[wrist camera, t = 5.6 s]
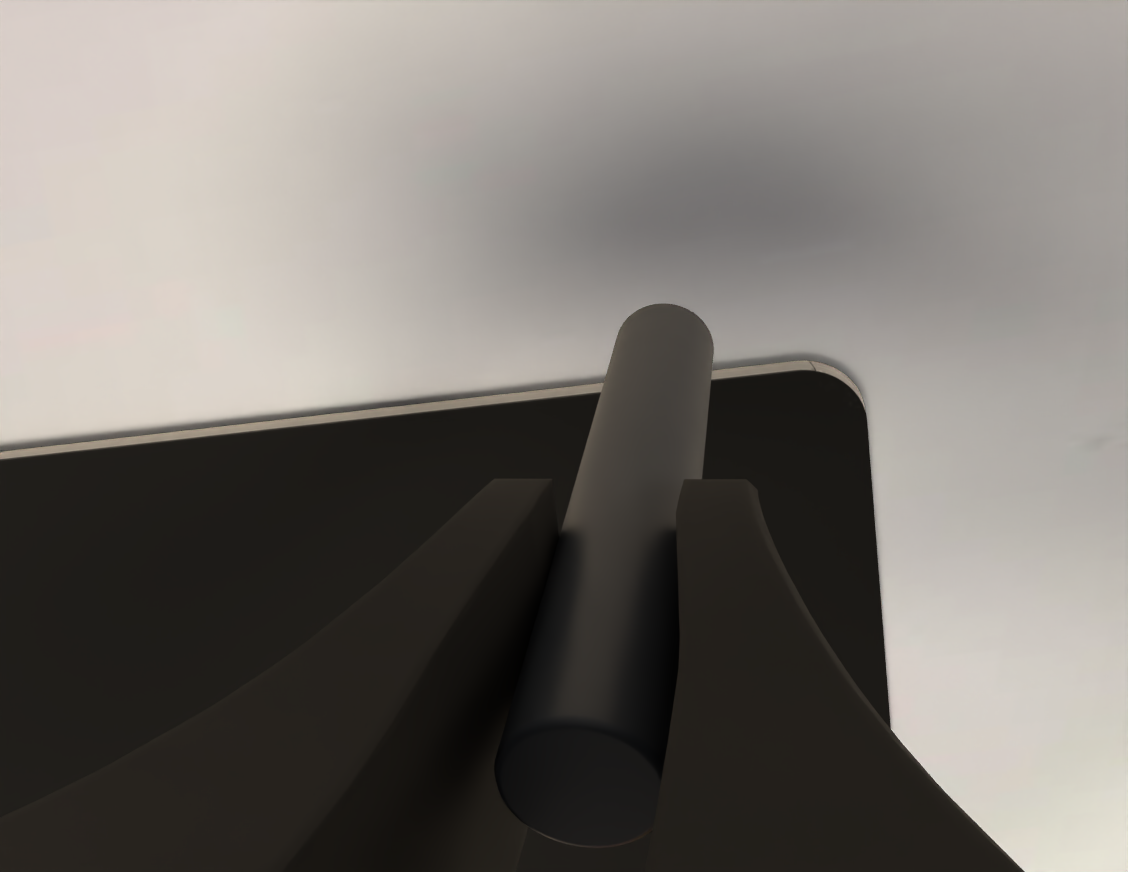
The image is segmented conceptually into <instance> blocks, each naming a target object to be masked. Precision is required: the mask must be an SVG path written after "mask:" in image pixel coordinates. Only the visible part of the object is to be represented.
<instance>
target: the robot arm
mask: <svg viewBox="0 0 1128 872" xmlns="http://www.w3.org/2000/svg"><path fill="white" fill-rule="evenodd" d="M676 536H677V567H678V597H679V627H680V645H679V668H678V676H677V682H676V689H675V696H674V703H673V710H672V717H671V723H670V730H669V737H668V743H667V749H666V755H665V761H664V767H663V773H662V779H661V785H660V791H659V797H658V803H657V809H656V814H655V819H654V825H653V830H652V835H651V840H650V845H649V850H648V855H647V861H646V866H645V871H644V872H1024V871H1023V870H1022V869H1021V868H1020V867H1019V866H1018V865H1017V864H1016V863H1015V862H1014V861H1013V860H1012V859H1011V858H1010V857H1009V856H1008V855H1007V854H1006V853H1005V852H1004V851H1003V850H1002V849H1001V848H1000V847H999V846H998V845H997V844H996V843H995V842H994V841H993V840H992V839H991V838H990V837H989V836H988V835H987V834H986V833H985V832H984V831H983V830H982V829H981V828H980V827H979V826H978V825H977V824H976V823H975V822H974V821H973V820H972V819H971V818H970V817H969V816H968V815H967V814H966V813H965V812H964V811H963V810H962V809H961V808H960V807H959V806H958V805H957V804H956V803H955V802H954V801H953V800H952V799H951V798H950V797H949V796H948V795H947V794H946V793H945V792H944V791H943V789H942V788H941V787H940V786H939V785H938V784H937V783H936V782H935V781H934V779H933V778H932V777H931V776H930V775H929V774H928V773H927V771H926V770H925V769H924V768H923V767H922V766H921V765H920V763H919V762H918V761H917V760H916V759H915V758H914V757H913V755H912V754H911V753H910V752H909V751H908V750H907V749H906V747H905V746H904V745H903V744H902V743H901V742H900V740H899V739H898V738H897V737H896V735H895V734H894V733H893V732H892V730H891V729H890V728H889V727H888V725H887V724H886V723H885V722H884V720H883V719H882V718H881V717H880V715H879V714H878V713H877V712H876V710H875V709H874V708H873V706H872V705H871V704H870V702H869V701H868V700H867V698H866V697H865V696H864V694H863V693H862V692H861V690H860V689H859V688H858V686H857V685H856V683H855V682H854V681H853V679H852V678H851V676H850V675H849V674H848V672H847V671H846V669H845V668H844V666H843V665H842V663H841V662H840V660H839V659H838V657H837V656H836V654H835V653H834V651H833V650H832V648H831V647H830V645H829V644H828V642H827V640H826V639H825V637H824V636H823V634H822V633H821V631H820V629H819V628H818V626H817V624H816V623H815V621H814V619H813V618H812V616H811V615H810V613H809V611H808V609H807V607H806V606H805V604H804V602H803V600H802V598H801V596H800V595H799V593H798V591H797V589H796V587H795V585H794V584H793V582H792V580H791V578H790V576H789V574H788V573H787V571H786V569H785V566H784V564H783V562H782V560H781V558H780V556H779V554H778V552H777V549H776V547H775V545H774V542H773V540H772V538H771V535H770V533H769V531H768V528H767V525H766V523H765V520H764V517H763V514H762V510H761V506H760V502H759V498H758V490H757V489H756V488H755V487H754V486H753V485H752V484H751V483H750V482H749V481H748V480H747V479H684V481H683V485H682V488H681V492H680V495H679V500H678V505H677V509H676ZM558 540H559V532H558V524H557V515H556V507H555V498H554V489H553V481H552V479H494V480H492V481H491V482H490V483H489V484H488V485H486V486H485V487H484V488H483V489H482V490H481V491H480V492H479V493H477V494H476V495H475V496H474V497H473V498H472V499H471V500H470V501H469V502H468V503H467V504H466V505H465V506H463V507H462V508H461V509H460V510H459V511H458V512H457V513H456V514H455V515H454V516H453V517H452V518H451V519H450V520H449V521H447V522H446V523H445V524H444V525H443V526H442V527H441V528H440V529H439V530H438V531H437V532H436V533H435V534H433V535H432V536H431V537H430V538H429V539H428V540H427V541H426V542H425V543H424V544H422V545H421V546H420V547H419V548H418V549H417V550H416V551H415V552H414V553H412V554H411V555H410V556H409V557H408V558H407V559H406V560H405V561H403V562H402V563H401V564H400V565H399V566H398V567H397V568H396V569H395V570H393V571H392V572H391V573H390V574H389V575H388V576H387V577H386V578H384V579H383V580H382V581H381V582H380V583H379V584H377V585H376V586H375V587H374V588H372V589H371V590H370V591H369V592H368V593H366V594H365V595H364V596H363V597H361V598H360V599H359V600H358V601H356V602H355V603H354V604H353V605H351V606H350V607H349V608H348V609H346V610H345V611H344V612H343V613H341V614H340V615H339V616H338V617H336V618H335V619H334V620H333V621H331V622H330V623H329V624H328V625H327V626H325V627H324V628H323V629H322V630H320V631H319V632H318V633H317V634H315V635H314V636H313V637H312V638H310V639H309V640H308V641H306V642H305V643H304V644H302V645H301V646H300V647H298V648H297V649H296V650H294V651H293V652H291V653H290V654H289V655H287V656H286V657H284V658H283V659H282V660H280V661H279V662H277V663H276V664H274V665H273V666H272V667H270V668H269V669H267V670H266V671H264V672H263V673H261V674H260V675H258V676H257V677H255V678H254V679H252V680H251V681H249V682H248V683H246V684H245V685H243V686H242V687H240V688H239V689H237V690H236V691H234V692H233V693H231V694H230V695H228V696H227V697H225V698H224V699H222V700H220V701H219V702H217V703H216V704H214V705H212V706H211V707H209V708H208V709H206V710H204V711H203V712H201V713H199V714H197V715H196V716H194V717H192V718H190V719H189V720H187V721H185V722H183V723H182V724H180V725H178V726H176V727H175V728H173V729H171V730H169V731H167V732H166V733H164V734H162V735H160V736H159V737H157V738H155V739H153V740H152V741H150V742H148V743H146V744H145V745H143V746H141V747H139V748H137V749H136V750H134V751H132V752H130V753H129V754H127V755H125V756H123V757H122V758H120V759H118V760H116V761H114V762H113V763H111V764H109V765H107V766H105V767H103V768H101V769H100V770H98V771H96V772H94V773H92V774H90V775H88V776H86V777H84V778H82V779H80V780H78V781H76V782H74V783H72V784H70V785H68V786H66V787H64V788H62V789H60V790H58V791H55V792H53V793H51V794H49V795H47V796H45V797H43V798H41V799H39V800H37V801H35V802H33V803H30V804H28V805H26V806H24V807H22V808H20V809H17V810H15V811H13V812H11V813H9V814H7V815H4V816H2V817H0V872H516V869H517V865H518V862H519V858H520V855H521V851H522V848H523V844H524V841H525V837H526V834H527V830H528V826H526V825H525V824H524V823H523V822H521V821H520V820H519V819H518V818H517V817H516V816H515V815H514V814H513V813H512V812H511V811H510V810H509V808H508V807H507V806H506V804H505V803H504V801H503V799H502V798H501V795H500V793H499V791H498V787H497V783H496V779H495V772H494V765H495V759H496V755H497V752H498V748H499V745H500V741H501V738H502V734H503V731H504V727H505V724H506V720H507V717H508V713H509V710H510V706H511V703H512V700H513V696H514V693H515V689H516V686H517V682H518V679H519V675H520V672H521V668H522V665H523V661H524V658H525V654H526V651H527V648H528V644H529V641H530V637H531V634H532V630H533V627H534V623H535V620H536V616H537V613H538V609H539V606H540V602H541V599H542V596H543V592H544V589H545V585H546V582H547V578H548V575H549V571H550V568H551V564H552V561H553V557H554V554H555V550H556V547H557V543H558Z"/></svg>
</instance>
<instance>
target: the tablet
mask: <svg viewBox="0 0 1128 872" xmlns="http://www.w3.org/2000/svg"><path fill="white" fill-rule="evenodd" d="M603 384H604V383H597V384H589V385H580V386H571V387H562V388H553V389H545V390H536V391H527V392H518V393H510V394H501V395H492V396H483V397H475V398H466V399H457V400H448V401H440V402H431V403H422V404H413V405H405V406H396V407H387V408H378V409H370V410H361V411H352V412H343V413H335V414H326V415H317V416H308V417H300V418H291V419H282V420H273V421H265V422H256V423H247V424H238V425H230V426H221V427H212V428H203V429H194V430H186V431H177V432H168V433H159V434H151V435H142V436H133V437H124V438H116V439H107V440H98V441H89V442H81V443H72V444H63V445H54V446H46V447H37V448H28V449H19V450H11V451H2V452H0V817H2V816H4V815H7V814H9V813H11V812H13V811H15V810H17V809H20V808H22V807H24V806H26V805H28V804H30V803H33V802H35V801H37V800H39V799H41V798H43V797H45V796H47V795H49V794H51V793H53V792H55V791H58V790H60V789H62V788H64V787H66V786H68V785H70V784H72V783H74V782H76V781H78V780H80V779H82V778H84V777H86V776H88V775H90V774H92V773H94V772H96V771H98V770H100V769H101V768H103V767H105V766H107V765H109V764H111V763H113V762H114V761H116V760H118V759H120V758H122V757H123V756H125V755H127V754H129V753H130V752H132V751H134V750H136V749H137V748H139V747H141V746H143V745H145V744H146V743H148V742H150V741H152V740H153V739H155V738H157V737H159V736H160V735H162V734H164V733H166V732H167V731H169V730H171V729H173V728H175V727H176V726H178V725H180V724H182V723H183V722H185V721H187V720H189V719H190V718H192V717H194V716H196V715H197V714H199V713H201V712H203V711H204V710H206V709H208V708H209V707H211V706H212V705H214V704H216V703H217V702H219V701H220V700H222V699H224V698H225V697H227V696H228V695H230V694H231V693H233V692H234V691H236V690H237V689H239V688H240V687H242V686H243V685H245V684H246V683H248V682H249V681H251V680H252V679H254V678H255V677H257V676H258V675H260V674H261V673H263V672H264V671H266V670H267V669H269V668H270V667H272V666H273V665H274V664H276V663H277V662H279V661H280V660H282V659H283V658H284V657H286V656H287V655H289V654H290V653H291V652H293V651H294V650H296V649H297V648H298V647H300V646H301V645H302V644H304V643H305V642H306V641H308V640H309V639H310V638H312V637H313V636H314V635H315V634H317V633H318V632H319V631H320V630H322V629H323V628H324V627H325V626H327V625H328V624H329V623H330V622H331V621H333V620H334V619H335V618H336V617H338V616H339V615H340V614H341V613H343V612H344V611H345V610H346V609H348V608H349V607H350V606H351V605H353V604H354V603H355V602H356V601H358V600H359V599H360V598H361V597H363V596H364V595H365V594H366V593H368V592H369V591H370V590H371V589H372V588H374V587H375V586H376V585H377V584H379V583H380V582H381V581H382V580H383V579H384V578H386V577H387V576H388V575H389V574H390V573H391V572H392V571H393V570H395V569H396V568H397V567H398V566H399V565H400V564H401V563H402V562H403V561H405V560H406V559H407V558H408V557H409V556H410V555H411V554H412V553H414V552H415V551H416V550H417V549H418V548H419V547H420V546H421V545H422V544H424V543H425V542H426V541H427V540H428V539H429V538H430V537H431V536H432V535H433V534H435V533H436V532H437V531H438V530H439V529H440V528H441V527H442V526H443V525H444V524H445V523H446V522H447V521H449V520H450V519H451V518H452V517H453V516H454V515H455V514H456V513H457V512H458V511H459V510H460V509H461V508H462V507H463V506H465V505H466V504H467V503H468V502H469V501H470V500H471V499H472V498H473V497H474V496H475V495H476V494H477V493H479V492H480V491H481V490H482V489H483V488H484V487H485V486H486V485H488V484H489V483H490V482H491V481H492V480H494V479H552V481H553V489H554V498H555V507H556V515H557V524H558V532H559V537H560V533H561V530H562V526H563V523H564V519H565V516H566V512H567V509H568V505H569V502H570V498H571V495H572V491H573V488H574V485H575V481H576V478H577V474H578V471H579V467H580V464H581V460H582V457H583V453H584V450H585V446H586V443H587V439H588V436H589V433H590V429H591V426H592V422H593V419H594V415H595V412H596V408H597V405H598V401H599V398H600V394H601V391H602V387H603ZM702 479H747V480H748V481H749V482H750V483H751V484H752V485H753V486H754V487H755V488H756V489H757V490H758V498H759V502H760V506H761V510H762V514H763V517H764V520H765V523H766V525H767V528H768V531H769V533H770V535H771V538H772V540H773V542H774V545H775V547H776V549H777V552H778V554H779V556H780V558H781V560H782V562H783V564H784V566H785V569H786V571H787V573H788V574H789V576H790V578H791V580H792V582H793V584H794V585H795V587H796V589H797V591H798V593H799V595H800V596H801V598H802V600H803V602H804V604H805V606H806V607H807V609H808V611H809V613H810V615H811V616H812V618H813V619H814V621H815V623H816V624H817V626H818V628H819V629H820V631H821V633H822V634H823V636H824V637H825V639H826V640H827V642H828V644H829V645H830V647H831V648H832V650H833V651H834V653H835V654H836V656H837V657H838V659H839V660H840V662H841V663H842V665H843V666H844V668H845V669H846V671H847V672H848V674H849V675H850V676H851V678H852V679H853V681H854V682H855V683H856V685H857V686H858V688H859V689H860V690H861V692H862V693H863V694H864V696H865V697H866V698H867V700H868V701H869V702H870V704H871V705H872V706H873V708H874V709H875V710H876V712H877V713H878V714H879V715H880V717H881V718H882V719H883V720H884V722H885V723H886V724H887V725H888V727H889V728H890V729H891V727H890V714H889V701H888V688H887V675H886V662H885V649H884V636H883V623H882V610H881V597H880V584H879V571H878V558H877V545H876V532H875V519H874V505H873V492H872V479H871V466H870V453H869V440H868V427H867V417H866V412H865V407H864V402H863V399H862V396H861V394H860V392H859V390H858V388H857V387H856V385H855V384H854V383H853V382H852V380H851V379H850V378H849V377H847V376H846V375H845V374H844V373H842V372H841V371H839V370H838V369H836V368H834V367H832V366H829V365H827V364H824V363H820V362H815V361H804V360H803V361H790V362H781V363H772V364H764V365H755V366H746V367H737V368H729V369H720V370H712V375H711V386H710V397H709V408H708V419H707V429H706V440H705V451H704V462H703V473H702ZM651 835H652V831H651V832H649V833H648V834H647V835H645V836H643V837H642V838H640V839H638V840H635V841H633V842H630V843H627V844H624V845H620V846H614V847H605V848H588V847H579V846H574V845H569V844H565V843H562V842H558V841H555V840H553V839H550V838H548V837H545V836H543V835H541V834H539V833H537V832H536V831H534V830H532V829H531V828H529V827H528V830H527V834H526V837H525V841H524V844H523V848H522V851H521V855H520V858H519V862H518V865H517V869H516V872H644V871H645V866H646V861H647V855H648V850H649V845H650V840H651Z"/></svg>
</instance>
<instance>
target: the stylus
mask: <svg viewBox="0 0 1128 872" xmlns="http://www.w3.org/2000/svg"><path fill="white" fill-rule="evenodd" d="M713 353H714V346H713V340H712V336H711V334H710V331H709V329H708V328H707V326H706V325H705V323H704V322H703V321H702V320H701V319H700V318H699V317H698V316H697V315H696V314H694V313H693V312H691V311H690V310H688V309H686V308H683V307H681V306H677V305H673V304H654V305H649V306H646V307H643V308H641V309H639V310H637V311H636V312H634V313H633V314H632V315H631V316H629V317H628V318H627V319H626V321H625V322H624V323H623V325H622V326H621V328H620V330H619V332H618V335H617V339H616V342H615V346H614V349H613V353H612V356H611V360H610V363H609V367H608V370H607V374H606V377H605V381H604V384H603V387H602V391H601V394H600V398H599V401H598V405H597V408H596V412H595V415H594V419H593V422H592V426H591V429H590V433H589V436H588V439H587V443H586V446H585V450H584V453H583V457H582V460H581V464H580V467H579V471H578V474H577V478H576V481H575V485H574V488H573V491H572V495H571V498H570V502H569V505H568V509H567V512H566V516H565V519H564V523H563V526H562V530H561V533H560V537H559V540H558V543H557V547H556V550H555V554H554V557H553V561H552V564H551V568H550V571H549V575H548V578H547V582H546V585H545V589H544V592H543V596H542V599H541V602H540V606H539V609H538V613H537V616H536V620H535V623H534V627H533V630H532V634H531V637H530V641H529V644H528V648H527V651H526V654H525V658H524V661H523V665H522V668H521V672H520V675H519V679H518V682H517V686H516V689H515V693H514V696H513V700H512V703H511V706H510V710H509V713H508V717H507V720H506V724H505V727H504V731H503V734H502V738H501V741H500V745H499V748H498V752H497V755H496V759H495V765H494V772H495V779H496V783H497V787H498V791H499V793H500V795H501V798H502V799H503V801H504V803H505V804H506V806H507V807H508V808H509V810H510V811H511V812H512V813H513V814H514V815H515V816H516V817H517V818H518V819H519V820H520V821H521V822H523V823H524V824H525V825H526V826H528V827H529V828H531V829H532V830H534V831H536V832H537V833H539V834H541V835H543V836H545V837H548V838H550V839H553V840H555V841H558V842H562V843H565V844H569V845H574V846H579V847H588V848H605V847H614V846H620V845H624V844H627V843H630V842H633V841H635V840H638V839H640V838H642V837H643V836H645V835H647V834H648V833H649V832H651V831H652V830H653V825H654V819H655V814H656V809H657V803H658V797H659V791H660V785H661V779H662V773H663V767H664V761H665V755H666V749H667V743H668V737H669V730H670V723H671V717H672V710H673V703H674V696H675V689H676V682H677V676H678V668H679V645H680V627H679V597H678V567H677V536H676V509H677V505H678V500H679V495H680V492H681V488H682V485H683V481H684V479H702V473H703V462H704V451H705V440H706V429H707V419H708V408H709V397H710V386H711V375H712V364H713Z"/></svg>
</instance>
